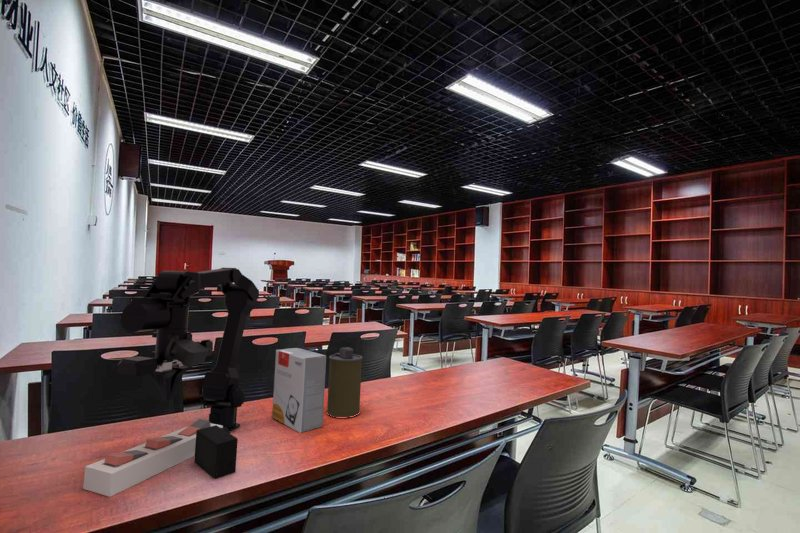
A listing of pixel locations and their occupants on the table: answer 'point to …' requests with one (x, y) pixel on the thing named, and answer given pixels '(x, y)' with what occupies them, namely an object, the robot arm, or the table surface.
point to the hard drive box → (299, 388)
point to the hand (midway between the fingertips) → (167, 400)
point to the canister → (344, 383)
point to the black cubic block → (216, 451)
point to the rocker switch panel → (138, 466)
